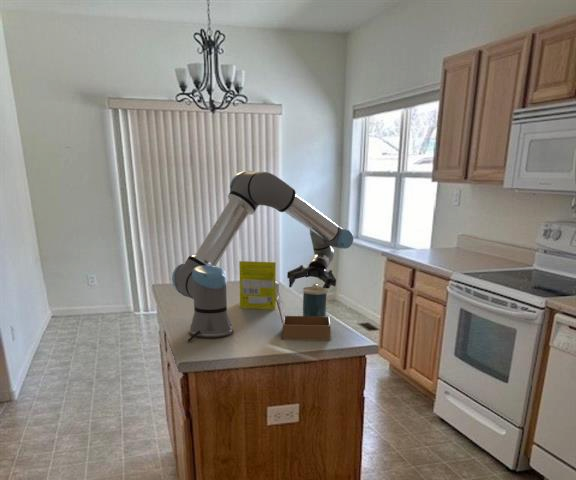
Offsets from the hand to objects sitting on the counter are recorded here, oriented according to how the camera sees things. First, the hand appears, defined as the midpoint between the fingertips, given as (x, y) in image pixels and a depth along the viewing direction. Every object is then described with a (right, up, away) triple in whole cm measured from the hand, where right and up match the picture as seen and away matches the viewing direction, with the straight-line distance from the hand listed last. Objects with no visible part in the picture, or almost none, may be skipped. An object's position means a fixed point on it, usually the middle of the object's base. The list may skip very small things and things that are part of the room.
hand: (306, 287), depth 210 cm
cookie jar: (+3, -15, -2) cm, 15 cm away
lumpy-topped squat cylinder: (-19, +2, +40) cm, 44 cm away
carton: (-1, -20, -15) cm, 25 cm away
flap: (-10, -11, -18) cm, 23 cm away
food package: (-21, -6, +21) cm, 30 cm away
